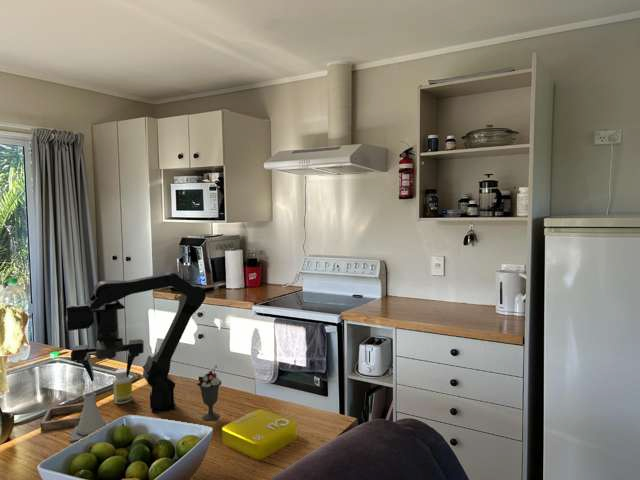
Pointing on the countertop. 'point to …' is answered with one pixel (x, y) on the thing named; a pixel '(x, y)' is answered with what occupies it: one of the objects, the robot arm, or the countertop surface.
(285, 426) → the element tile
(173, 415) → the countertop surface
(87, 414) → the flask
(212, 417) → the sundae
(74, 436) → the rubber mat
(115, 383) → the supplement bottle
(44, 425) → the walnut well
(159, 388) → the robot arm
